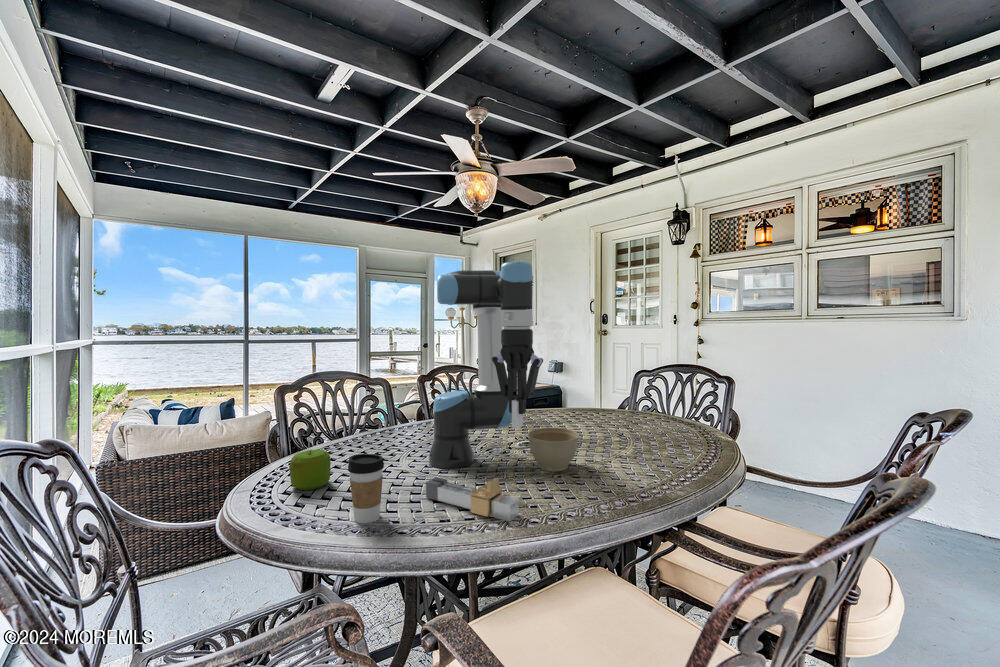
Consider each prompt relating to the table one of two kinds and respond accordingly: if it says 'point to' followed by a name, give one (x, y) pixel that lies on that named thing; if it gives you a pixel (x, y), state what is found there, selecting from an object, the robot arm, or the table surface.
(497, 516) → the tongs fixed
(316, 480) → the apple
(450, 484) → the bar
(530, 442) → the planter bowl
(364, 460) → the coffee cup
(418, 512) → the table surface
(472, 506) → the collar
